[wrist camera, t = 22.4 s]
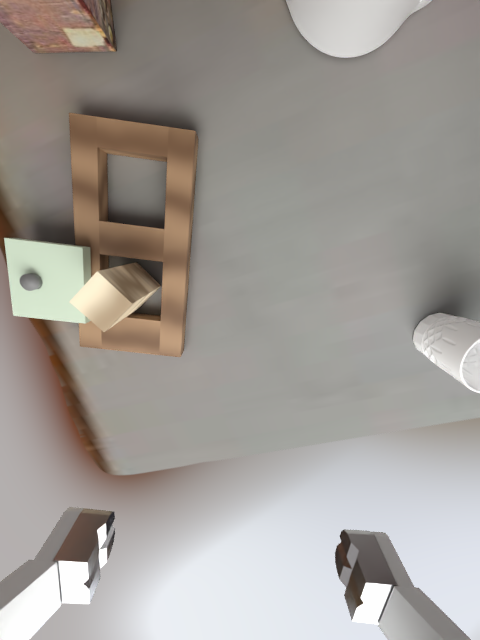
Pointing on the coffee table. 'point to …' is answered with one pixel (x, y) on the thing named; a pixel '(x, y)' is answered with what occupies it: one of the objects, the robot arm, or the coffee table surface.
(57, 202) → the coffee table surface
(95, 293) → the maple block
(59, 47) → the book
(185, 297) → the puzzle board
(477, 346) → the white cup
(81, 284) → the lid
